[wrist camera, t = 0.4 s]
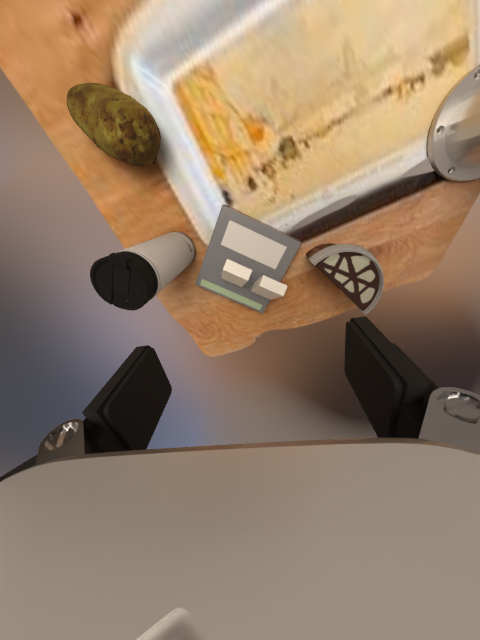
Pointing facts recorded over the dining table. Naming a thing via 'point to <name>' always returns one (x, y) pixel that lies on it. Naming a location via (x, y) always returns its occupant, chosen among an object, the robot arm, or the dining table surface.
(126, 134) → the potato
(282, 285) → the paddle
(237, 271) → the paddle on
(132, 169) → the dining table surface
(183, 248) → the travel mug
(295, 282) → the dining table surface
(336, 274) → the food container
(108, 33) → the dining table surface
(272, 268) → the panel
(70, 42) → the dining table surface
